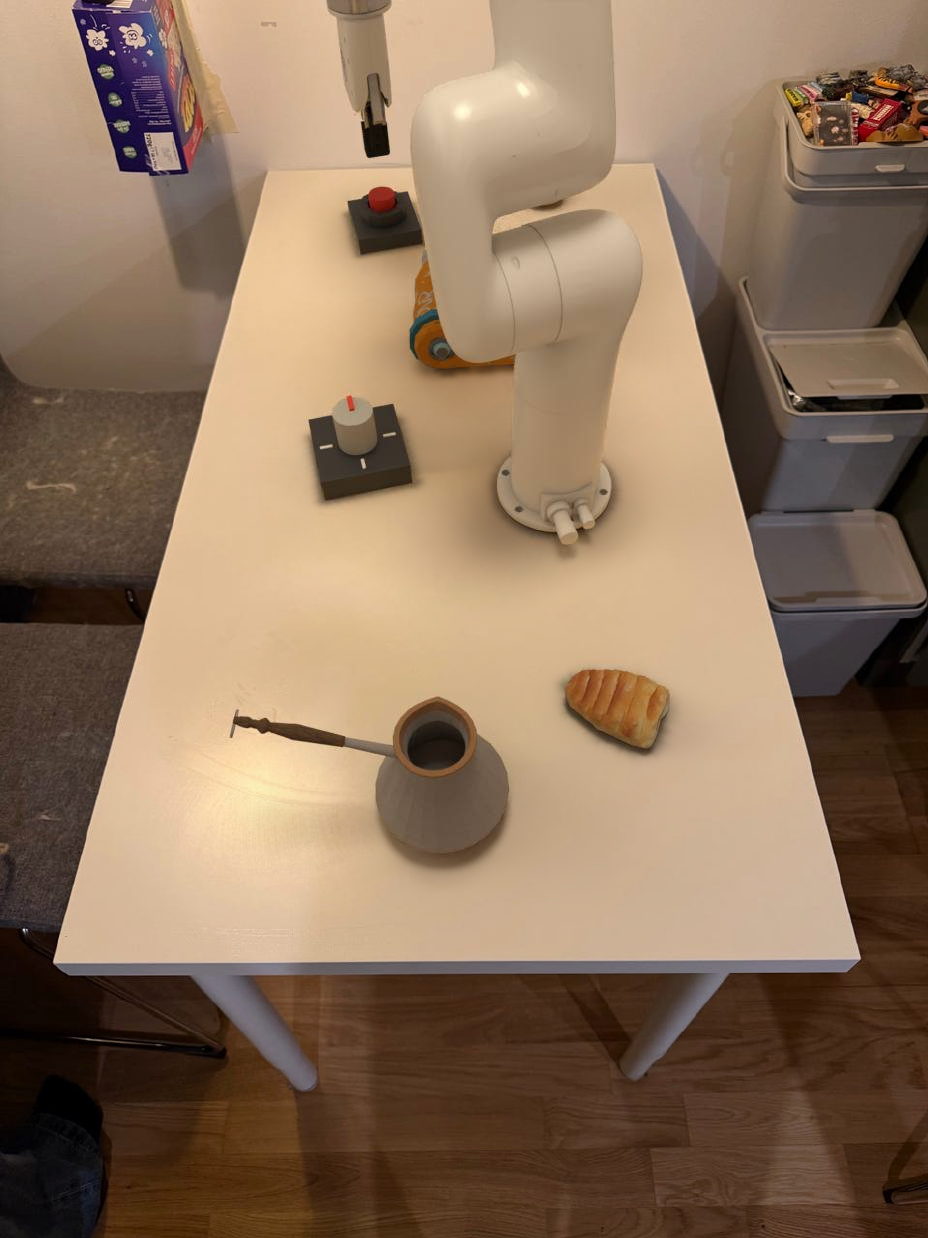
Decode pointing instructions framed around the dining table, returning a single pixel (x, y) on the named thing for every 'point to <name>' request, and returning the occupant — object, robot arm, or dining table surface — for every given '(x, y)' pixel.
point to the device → (435, 329)
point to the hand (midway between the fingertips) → (377, 153)
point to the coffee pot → (425, 774)
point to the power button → (381, 199)
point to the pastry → (619, 704)
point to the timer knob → (355, 425)
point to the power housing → (385, 224)
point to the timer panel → (361, 457)
